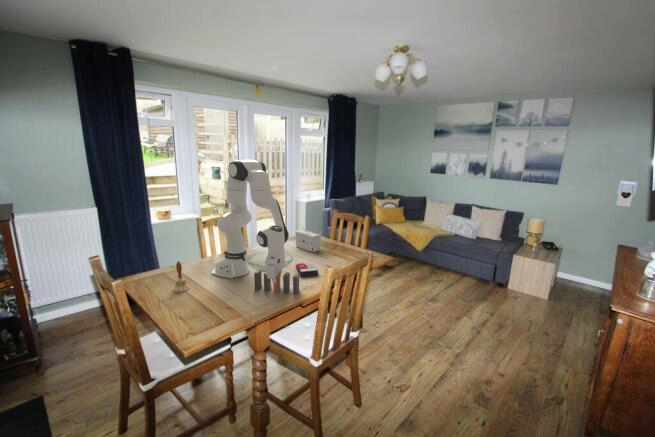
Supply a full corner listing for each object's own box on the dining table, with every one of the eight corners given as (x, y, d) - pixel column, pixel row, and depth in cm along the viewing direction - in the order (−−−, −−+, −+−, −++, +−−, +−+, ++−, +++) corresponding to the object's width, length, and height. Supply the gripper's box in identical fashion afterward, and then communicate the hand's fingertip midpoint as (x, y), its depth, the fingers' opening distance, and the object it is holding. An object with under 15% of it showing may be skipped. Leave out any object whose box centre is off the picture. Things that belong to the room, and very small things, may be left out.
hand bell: (181, 293, 163) (178, 265, 159) (169, 290, 166) (166, 263, 162) (193, 287, 171) (190, 260, 167) (181, 284, 174) (178, 257, 170)
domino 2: (264, 290, 169) (263, 273, 166) (267, 286, 173) (267, 270, 171) (267, 291, 168) (267, 274, 166) (270, 287, 173) (270, 270, 171)
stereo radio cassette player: (320, 251, 234) (321, 225, 230) (313, 253, 228) (313, 227, 224) (302, 244, 248) (302, 220, 243) (294, 246, 242) (294, 222, 237)
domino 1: (254, 289, 170) (254, 272, 167) (258, 285, 174) (257, 269, 172) (258, 290, 169) (257, 273, 167) (261, 286, 174) (261, 269, 172)
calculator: (312, 261, 203) (318, 269, 189) (312, 268, 204) (318, 276, 190) (295, 263, 200) (300, 271, 186) (295, 269, 201) (300, 277, 187)
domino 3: (273, 291, 168) (273, 274, 165) (276, 287, 173) (276, 271, 170) (277, 292, 167) (276, 275, 165) (280, 288, 172) (280, 271, 170)
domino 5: (293, 294, 166) (293, 276, 163) (295, 289, 171) (295, 273, 168) (296, 294, 165) (296, 277, 163) (299, 290, 170) (299, 273, 168)
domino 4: (283, 293, 167) (283, 275, 164) (286, 288, 172) (286, 272, 169) (286, 293, 166) (286, 276, 164) (289, 289, 171) (289, 272, 169)
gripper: (277, 249, 176) (277, 271, 179) (263, 262, 156) (264, 287, 159) (288, 250, 175) (288, 272, 178) (275, 263, 155) (275, 288, 158)
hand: (276, 279), depth 169 cm, fingers open, 6 cm apart
